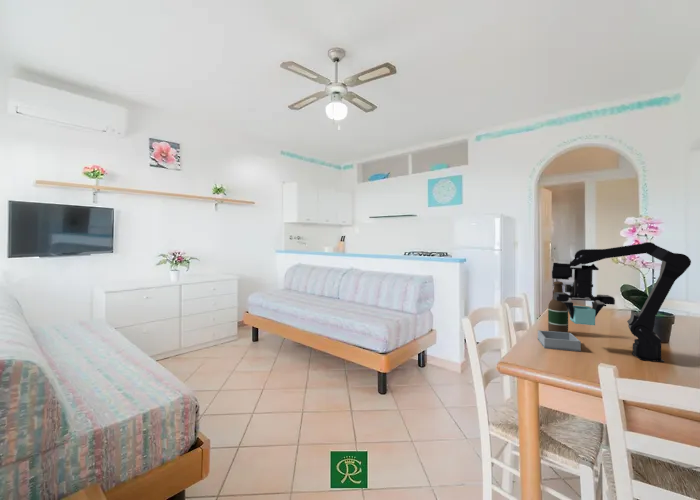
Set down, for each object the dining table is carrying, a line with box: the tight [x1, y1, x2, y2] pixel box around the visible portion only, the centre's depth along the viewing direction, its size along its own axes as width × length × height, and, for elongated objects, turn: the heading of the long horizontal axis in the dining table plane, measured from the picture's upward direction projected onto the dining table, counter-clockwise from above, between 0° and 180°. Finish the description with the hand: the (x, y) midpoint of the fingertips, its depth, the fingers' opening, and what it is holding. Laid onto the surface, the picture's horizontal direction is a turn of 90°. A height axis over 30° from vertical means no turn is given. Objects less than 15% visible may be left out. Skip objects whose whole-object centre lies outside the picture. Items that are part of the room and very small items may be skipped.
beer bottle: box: [547, 281, 569, 333], centre depth 140 cm, size 8×8×24 cm
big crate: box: [537, 329, 582, 352], centre depth 123 cm, size 12×12×4 cm
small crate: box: [569, 305, 596, 326], centre depth 119 cm, size 6×6×6 cm
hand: (582, 319), depth 119 cm, fingers closed on small crate, 6 cm apart
